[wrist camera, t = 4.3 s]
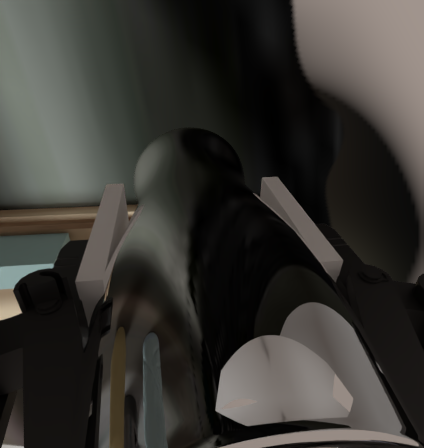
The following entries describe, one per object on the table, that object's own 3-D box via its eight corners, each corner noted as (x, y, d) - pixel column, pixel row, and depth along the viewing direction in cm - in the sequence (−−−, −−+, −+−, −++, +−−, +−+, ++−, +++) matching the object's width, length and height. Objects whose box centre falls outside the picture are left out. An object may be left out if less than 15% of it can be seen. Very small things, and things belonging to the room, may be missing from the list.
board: (-51, 212, 25) (-82, 238, 22) (271, 198, 28) (284, 220, 25) (14, 353, 34) (-2, 386, 31) (255, 332, 37) (263, 360, 34)
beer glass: (106, 206, 18) (-15, 616, 6) (158, 91, 16) (157, 383, 3) (212, 248, 21) (294, 594, 8) (273, 155, 18) (542, 460, 5)
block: (-54, 238, 25) (-89, 272, 21) (68, 232, 26) (53, 263, 22) (-44, 259, 26) (-76, 294, 22) (73, 253, 27) (60, 285, 23)
